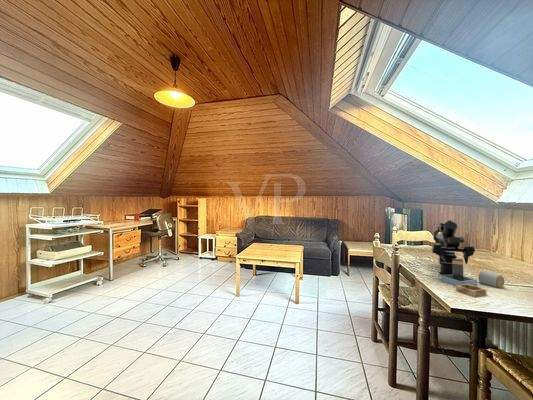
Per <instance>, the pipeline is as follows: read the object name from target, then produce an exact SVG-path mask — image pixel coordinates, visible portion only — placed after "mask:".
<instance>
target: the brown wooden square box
mask: <svg viewBox="0 0 533 400" xmlns="http://www.w3.org/2000/svg"><path fill="white" fill-rule="evenodd" d="M454 291H455V292H458V293H461V294H464V295H467V296H469V297H472V298H480V297H481V298H482V297H486V296H488V294H487V289H486V288H482V287H480V286H478V285H477V286H473V285H470V284H462V285H456V286H455V289H454Z"/></svg>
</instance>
